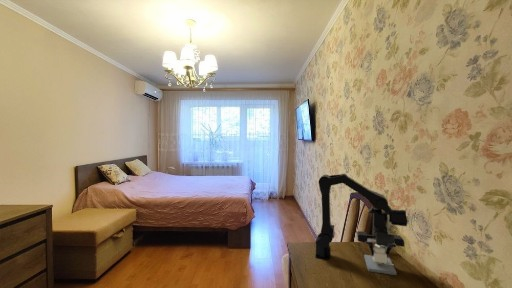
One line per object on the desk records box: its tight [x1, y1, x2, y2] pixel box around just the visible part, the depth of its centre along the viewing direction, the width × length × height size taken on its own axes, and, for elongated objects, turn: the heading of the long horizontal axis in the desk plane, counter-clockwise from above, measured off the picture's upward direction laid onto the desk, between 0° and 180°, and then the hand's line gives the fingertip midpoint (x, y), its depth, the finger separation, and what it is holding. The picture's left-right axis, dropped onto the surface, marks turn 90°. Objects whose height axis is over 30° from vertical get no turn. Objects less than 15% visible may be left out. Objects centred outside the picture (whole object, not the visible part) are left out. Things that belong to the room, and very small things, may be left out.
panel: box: [363, 254, 398, 276], centre depth 112 cm, size 12×13×5 cm
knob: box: [371, 243, 388, 263], centre depth 112 cm, size 5×5×6 cm
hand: (379, 256), depth 112 cm, fingers closed on knob, 5 cm apart
